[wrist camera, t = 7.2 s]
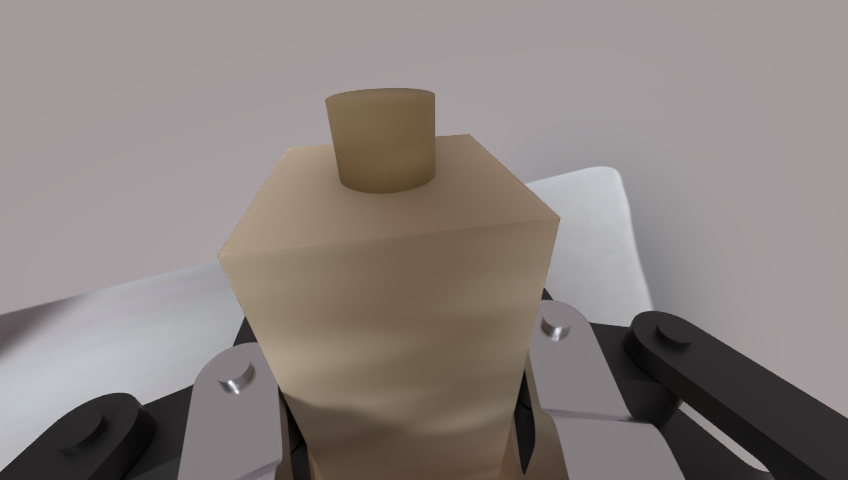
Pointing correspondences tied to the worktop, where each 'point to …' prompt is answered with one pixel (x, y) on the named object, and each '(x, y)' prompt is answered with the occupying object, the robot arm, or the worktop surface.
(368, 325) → the pale wood tall block
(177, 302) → the worktop surface
